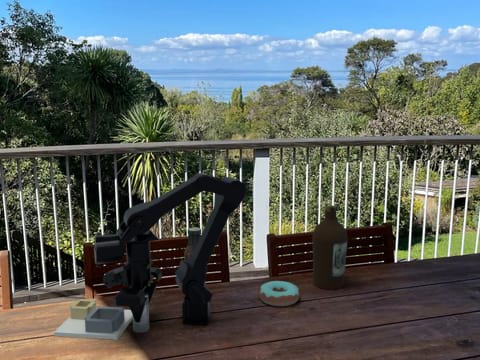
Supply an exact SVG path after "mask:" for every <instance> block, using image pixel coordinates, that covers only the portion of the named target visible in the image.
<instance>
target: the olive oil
mask: <svg viewBox="0 0 480 360" xmlns="http://www.w3.org/2000/svg"><path fill="white" fill-rule="evenodd" d="M311 238H312V239H311V240H312V241H311V242H312V282H313V285H314V286H315V287H317V288H319V289H322V290H332V291H333V290H337V289H341V288H343V287H344V282H345V281H344V280H345V273H346V268H347V267H346V259H347V249H348V247H347V246H348V232H347V230H346V228H345V227H344V226H343V224H341V222H340V221H339V220H338V219H337V206H336V205H332V204H331V205H330V204H329V205H326V206H325V210H324V218H323V219H322V220H321V221H319V223H318V224H317V225H316V226H315V228H314V230H313V232H312V236H311Z"/></svg>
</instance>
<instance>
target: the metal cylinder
mask: <svg viewBox="0 0 480 360" xmlns="http://www.w3.org/2000/svg"><path fill="white" fill-rule="evenodd" d="M145 297H148V294H147V293H145ZM149 307H150V305H149V304H148V299H147V302H146V305H145V308H144V312H143V315H142V318H141V321H140V322H139V323H136V322H135V320H134V317H133V319H132V329H133V332H134V333H138V334H140V333H141V334H142V333H146V332H148V331H149V330H150V312H149V311H150V310H149Z"/></svg>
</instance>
